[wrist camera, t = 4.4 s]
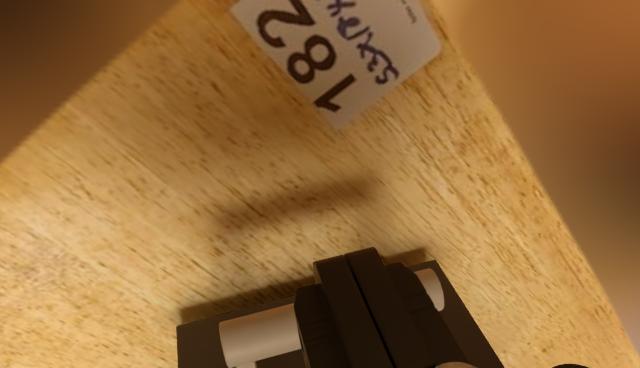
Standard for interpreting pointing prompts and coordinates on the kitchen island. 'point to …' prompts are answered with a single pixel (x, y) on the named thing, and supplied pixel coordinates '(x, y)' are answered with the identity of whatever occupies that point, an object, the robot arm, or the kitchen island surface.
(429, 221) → the kitchen island surface
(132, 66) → the kitchen island surface
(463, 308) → the drawer
